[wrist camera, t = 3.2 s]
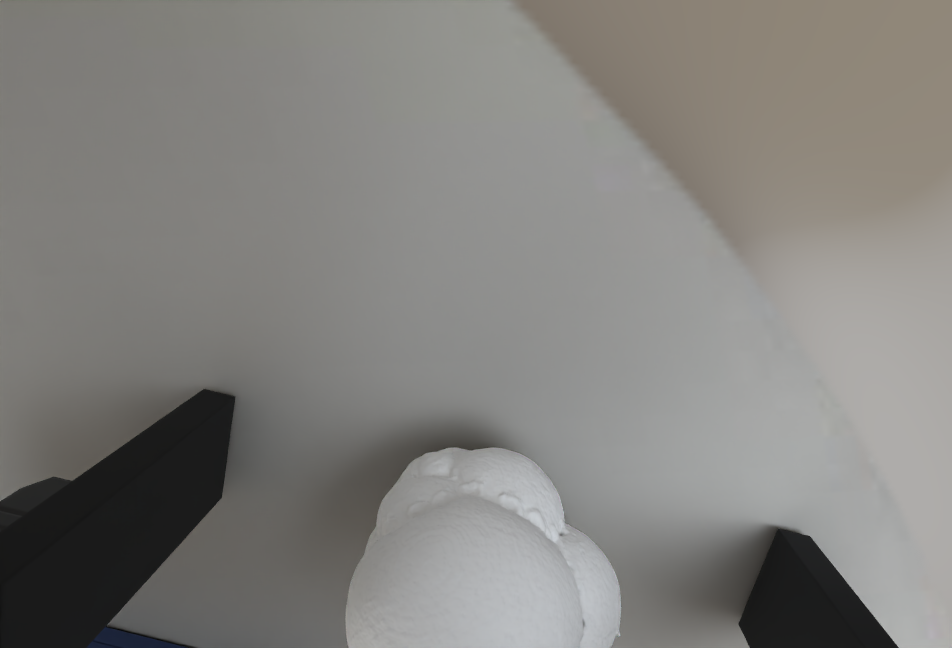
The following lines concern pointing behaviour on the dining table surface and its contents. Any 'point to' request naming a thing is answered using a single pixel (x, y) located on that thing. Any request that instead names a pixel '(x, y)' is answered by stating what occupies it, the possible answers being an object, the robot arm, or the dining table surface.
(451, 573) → the microfossil shell
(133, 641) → the blue tray
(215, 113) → the dining table surface
